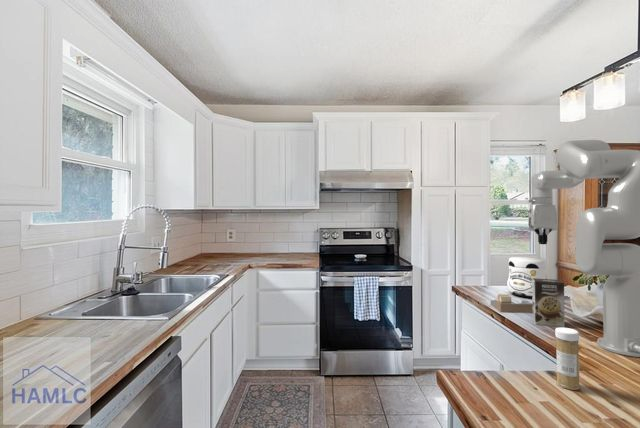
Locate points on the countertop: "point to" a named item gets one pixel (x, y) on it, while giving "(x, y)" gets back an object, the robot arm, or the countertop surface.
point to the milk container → (524, 274)
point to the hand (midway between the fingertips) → (542, 244)
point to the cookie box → (548, 302)
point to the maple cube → (504, 298)
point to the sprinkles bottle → (567, 358)
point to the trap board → (513, 307)
